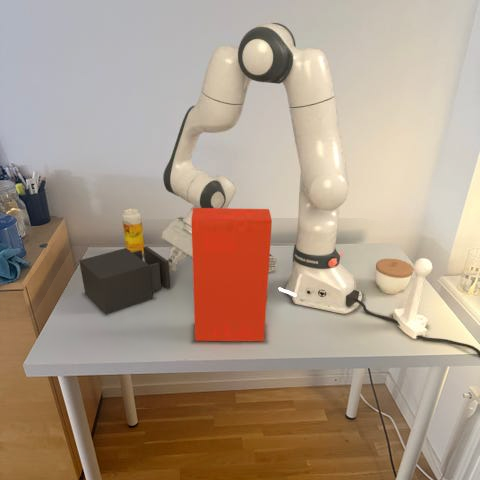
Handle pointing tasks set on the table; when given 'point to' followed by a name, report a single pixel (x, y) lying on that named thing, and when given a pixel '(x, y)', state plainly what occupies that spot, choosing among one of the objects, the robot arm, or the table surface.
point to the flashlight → (272, 263)
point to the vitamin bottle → (133, 230)
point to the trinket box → (392, 275)
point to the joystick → (414, 303)
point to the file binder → (230, 273)
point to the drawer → (157, 268)
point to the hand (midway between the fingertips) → (171, 262)
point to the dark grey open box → (116, 280)
